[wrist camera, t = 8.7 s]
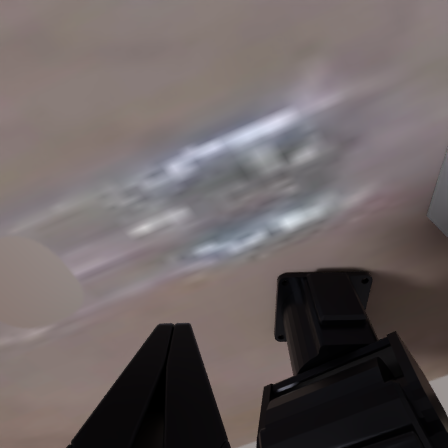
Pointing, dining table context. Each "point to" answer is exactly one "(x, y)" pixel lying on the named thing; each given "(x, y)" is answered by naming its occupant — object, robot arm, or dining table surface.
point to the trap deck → (440, 199)
